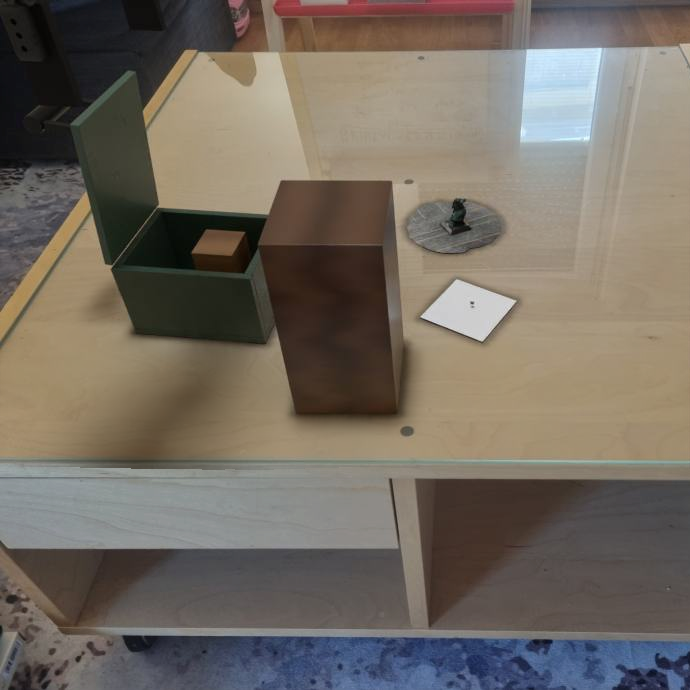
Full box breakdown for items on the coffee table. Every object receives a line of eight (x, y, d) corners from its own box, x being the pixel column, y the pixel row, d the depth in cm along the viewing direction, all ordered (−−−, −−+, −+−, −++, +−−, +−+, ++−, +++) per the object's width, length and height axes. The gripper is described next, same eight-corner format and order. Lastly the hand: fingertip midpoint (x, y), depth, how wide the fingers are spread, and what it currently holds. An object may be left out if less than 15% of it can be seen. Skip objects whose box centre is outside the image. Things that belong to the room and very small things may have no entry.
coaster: (419, 317, 83) (419, 311, 83) (456, 279, 88) (456, 273, 88) (482, 341, 80) (482, 336, 80) (516, 301, 85) (517, 295, 85)
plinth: (295, 413, 73) (257, 244, 59) (311, 343, 80) (280, 179, 67) (397, 413, 73) (382, 245, 59) (404, 344, 80) (392, 180, 67)
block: (246, 314, 83) (231, 255, 77) (208, 311, 83) (190, 252, 78) (259, 289, 86) (245, 231, 81) (222, 287, 86) (206, 229, 81)
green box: (295, 278, 89) (282, 215, 83) (265, 343, 80) (249, 278, 74) (177, 269, 90) (157, 207, 84) (135, 333, 82) (110, 268, 76)
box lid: (136, 71, 73) (64, 59, 73) (78, 125, 65) (-2, 112, 65) (159, 204, 84) (97, 193, 84) (112, 266, 75) (43, 253, 75)
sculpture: (515, 219, 99) (501, 198, 91) (486, 281, 98) (469, 266, 91) (439, 189, 103) (418, 167, 95) (411, 249, 102) (388, 232, 95)
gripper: (-110, -326, 31) (73, 148, 45) (146, -333, 49) (218, 6, 63) (-276, -326, 31) (-43, 141, 46) (38, -333, 49) (133, 2, 64)
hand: (109, 63), depth 54 cm, fingers open, 13 cm apart
